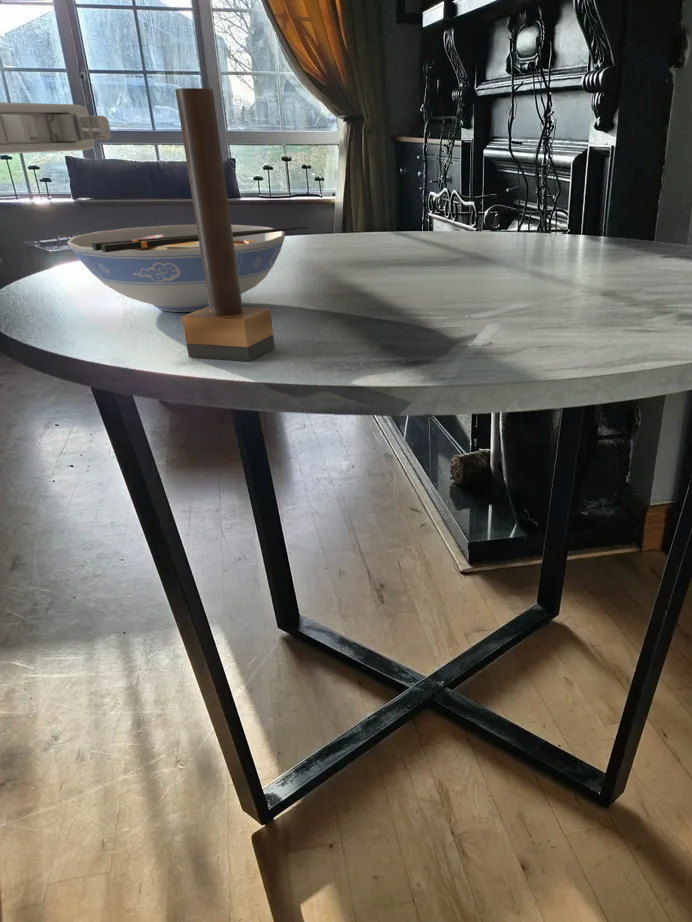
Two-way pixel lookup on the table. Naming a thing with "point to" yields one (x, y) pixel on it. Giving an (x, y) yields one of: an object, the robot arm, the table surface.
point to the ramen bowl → (172, 261)
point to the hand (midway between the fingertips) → (69, 128)
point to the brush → (216, 245)
